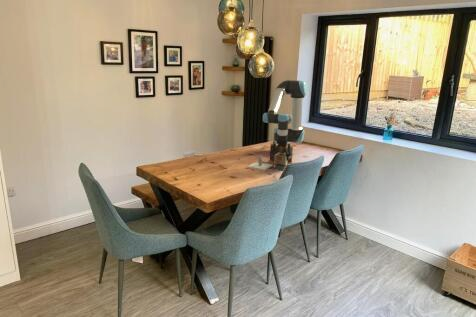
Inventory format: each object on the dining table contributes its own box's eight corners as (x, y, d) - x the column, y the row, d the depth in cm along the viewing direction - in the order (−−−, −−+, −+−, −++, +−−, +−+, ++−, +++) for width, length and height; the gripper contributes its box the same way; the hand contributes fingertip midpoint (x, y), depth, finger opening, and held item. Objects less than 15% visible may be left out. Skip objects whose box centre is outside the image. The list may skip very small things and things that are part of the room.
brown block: (278, 159, 284) (278, 152, 282) (287, 161, 280) (288, 153, 278) (273, 162, 277) (274, 154, 275) (283, 164, 273) (284, 156, 271)
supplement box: (283, 166, 286) (284, 147, 282) (269, 161, 297) (270, 143, 293) (291, 164, 292) (293, 145, 288) (278, 159, 304) (279, 141, 300)
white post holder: (256, 163, 292) (256, 152, 289) (272, 166, 285) (272, 154, 283) (248, 167, 280) (248, 156, 277) (264, 170, 273) (265, 159, 271)
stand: (277, 166, 284) (278, 163, 283) (286, 168, 281) (286, 164, 280) (274, 169, 278) (274, 165, 277) (282, 170, 275) (283, 166, 274)
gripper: (267, 133, 274) (266, 162, 280) (293, 137, 264) (291, 167, 271) (271, 132, 280) (270, 160, 287) (297, 135, 271) (295, 164, 277)
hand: (280, 163), depth 279 cm, fingers closed on brown block, 8 cm apart
